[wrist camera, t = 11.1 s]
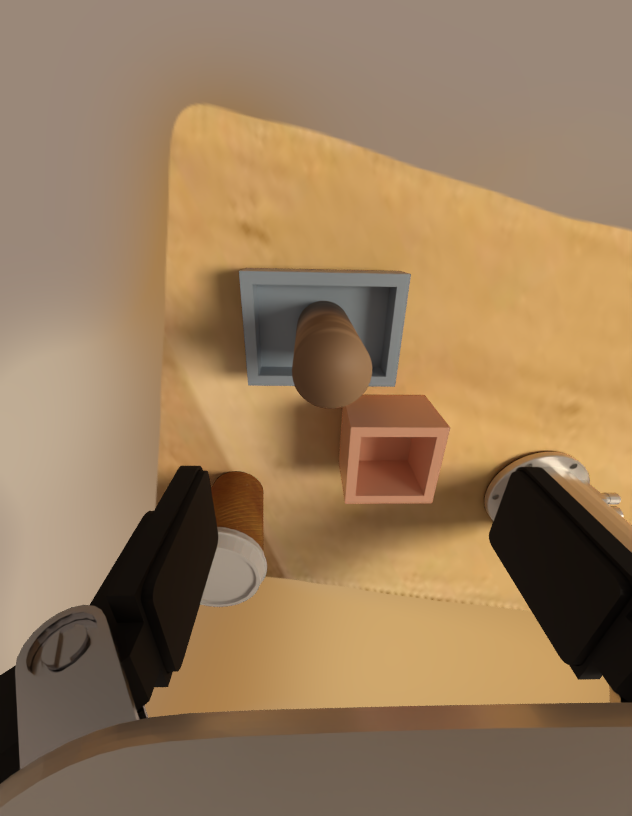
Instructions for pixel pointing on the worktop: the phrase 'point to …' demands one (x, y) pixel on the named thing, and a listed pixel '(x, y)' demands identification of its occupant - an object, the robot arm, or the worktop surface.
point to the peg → (329, 357)
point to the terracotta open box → (391, 449)
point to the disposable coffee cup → (236, 541)
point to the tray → (297, 288)
